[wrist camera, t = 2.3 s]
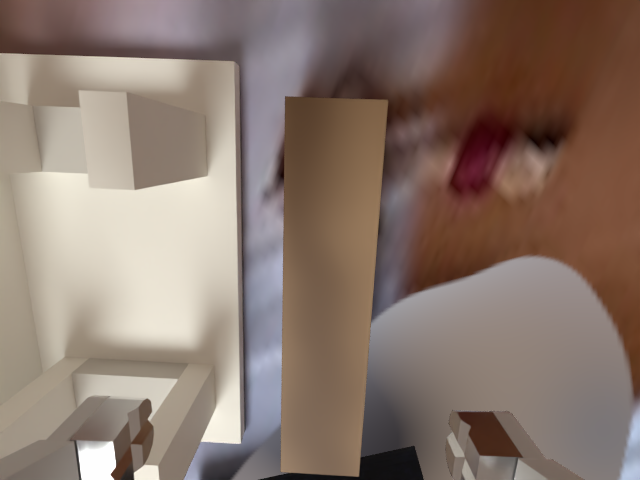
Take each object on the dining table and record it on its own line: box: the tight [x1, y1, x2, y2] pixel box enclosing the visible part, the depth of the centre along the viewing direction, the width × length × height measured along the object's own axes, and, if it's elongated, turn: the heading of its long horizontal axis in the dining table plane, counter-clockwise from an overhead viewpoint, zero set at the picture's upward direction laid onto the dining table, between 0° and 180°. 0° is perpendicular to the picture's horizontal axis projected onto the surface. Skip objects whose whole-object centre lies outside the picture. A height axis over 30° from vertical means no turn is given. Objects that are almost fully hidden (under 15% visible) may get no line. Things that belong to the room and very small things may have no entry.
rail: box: [281, 96, 388, 477], centre depth 18 cm, size 4×18×5 cm, turn 178°
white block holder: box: [0, 53, 245, 480], centre depth 17 cm, size 14×22×8 cm, turn 178°
